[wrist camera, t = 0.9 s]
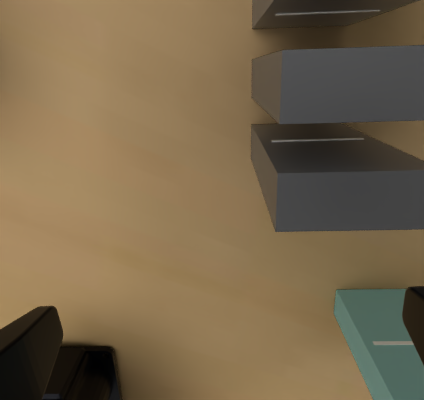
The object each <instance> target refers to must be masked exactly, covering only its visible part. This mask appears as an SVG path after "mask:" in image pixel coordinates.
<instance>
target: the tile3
mask: <svg viewBox="0 0 424 400" xmlns="http://www.w3.org/2000/svg"><path fill="white" fill-rule="evenodd" d="M252 99H253V100H254V101H256V102H257V103H258V104H259V105H260V106H261V107H262V108H263V109H264V110H265V111H266V112H267V113H268V114H269V115H270V116H271V117H272V118H273V119H274V120H276V121H277V122H278V123H279V124H309V123H345V122H381V121H417V120H424V45H412V46H384V47H355V48H327V49H299V50H281V51H278V52H275V53H271V54H268V55H265V56H262V57H258V58H255V59H252Z"/></svg>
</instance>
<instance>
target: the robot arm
mask: <svg viewBox="0 0 424 400" xmlns="http://www.w3.org/2000/svg"><path fill="white" fill-rule="evenodd" d="M402 319H403V323H404V325H405V327H406V329H407V331H408V334H409V336H410V338H411V340H412V342H413V344H414V346H415V348H416V351H417V353H418V355H419V357H420V359H421V361H422V363H423V365H424V286H415V287H408V288H407V289H406V291H405V296H404V304H403V311H402ZM62 339H63V329H62V326H61V322H60V319H59V315H58V312H57V309H56V308H55V307H54V306H40V307H37V308H35V309H33V310H32V311H30V312H28V313H27V314H25V315H23V316H22V317H20V318H18V319H17V320H15V321H13V322H12V323H10V324H9V325H7V326H5V327H4V328H2V329H0V400H122V395H121V389H120V383H119V378H118V372H117V366H116V360H115V354H114V351H113V349H112V348H110V347H60V346H61V343H62ZM105 353H106V354H105Z"/></svg>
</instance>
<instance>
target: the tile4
mask: <svg viewBox="0 0 424 400" xmlns="http://www.w3.org/2000/svg"><path fill="white" fill-rule="evenodd" d="M417 1H419V0H252V29H264V28H291V27H317V26H344V25H350V24H353V23H356V22H359V21H362V20H365V19H368V18H370V17H373V16H376V15H379V14H382V13H385V12H388V11H391V10H393V9H396V8H399V7H402V6H405V5H408V4H411V3H414V2H417Z"/></svg>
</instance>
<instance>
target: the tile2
mask: <svg viewBox="0 0 424 400" xmlns="http://www.w3.org/2000/svg"><path fill="white" fill-rule="evenodd" d="M251 160H252V163H253V166H254V169H255V172H256V175H257V178H258V181H259V184H260V187H261V190H262V193H263V196H264V199H265V202H266V205H267V208H268V211H269V214H270V217H271V220H272V223H273V226H274V229H275V232H293V231H352V230H412V229H424V161H423V160H421V159H418V158H416V157H414V156H412V155H410V154H407V153H405V152H403V151H401V150H399V149H396V148H394V147H392V146H390V145H388V144H385V143H383V142H381V141H379V140H377V139H374V138H372V137H370V136H368V135H366V134H363V133H361V132H359V131H357V130H355V129H352V128H350V127H348V126H346V125H344V124H341V123H309V124H252V125H251Z"/></svg>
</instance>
